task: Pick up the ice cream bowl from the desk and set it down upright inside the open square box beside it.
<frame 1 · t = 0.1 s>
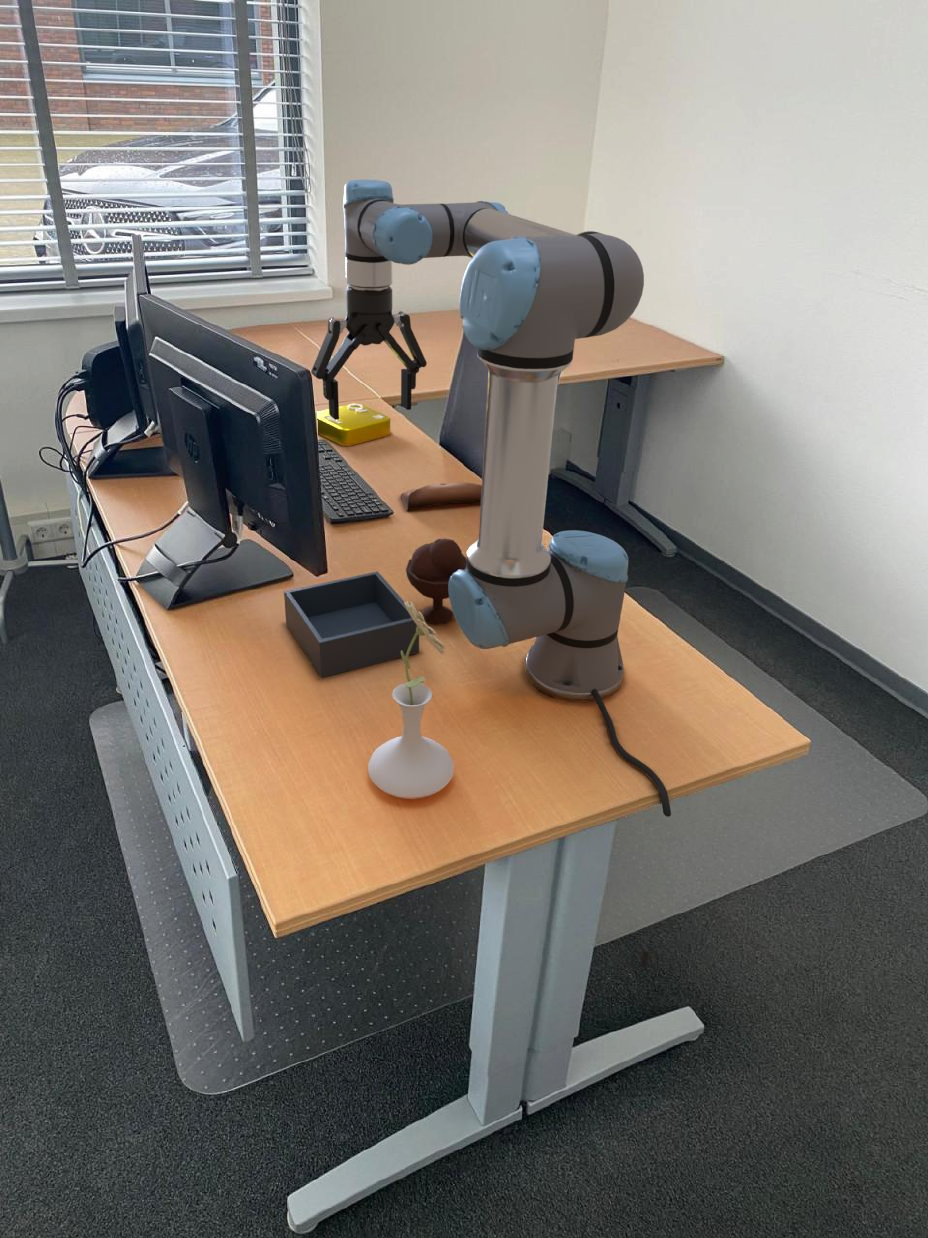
hand: (370, 412, 159), 28 cm above the table, tool pointing down, fingers open, 13 cm apart
flower in vase: (410, 773, 122), on the table
ammunition clip: (497, 539, 181), on the table
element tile: (351, 432, 227), on the table
open square box: (351, 638, 149), on the table
ice cream bowl: (437, 616, 156), on the table
sunglasses case: (443, 501, 195), on the table
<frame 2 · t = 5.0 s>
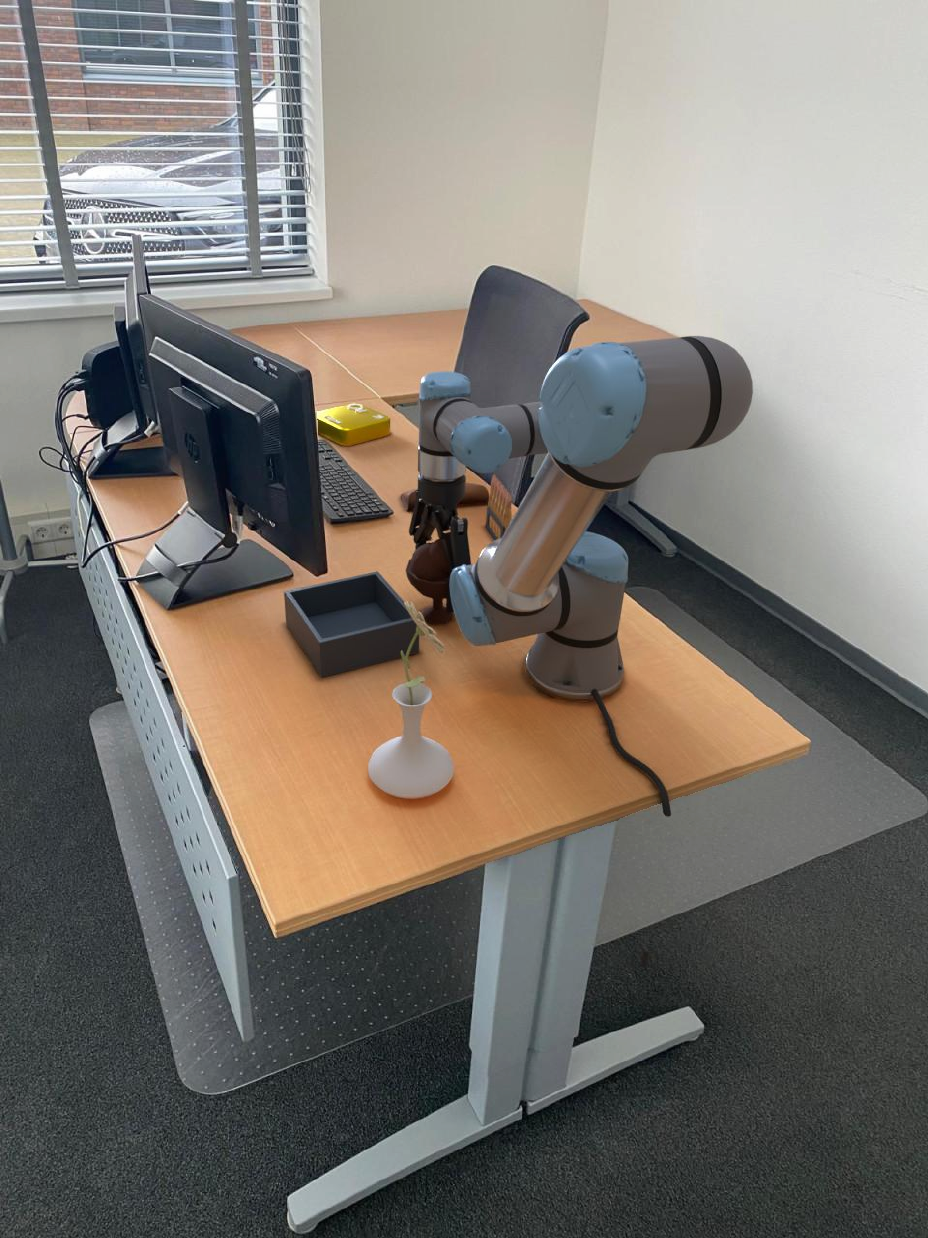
hand: (438, 594, 153), 4 cm above the table, tool pointing down, fingers closed on ice cream bowl, 11 cm apart
ice cream bowl: (437, 616, 156), on the table, touching gripper
everything else where it was.
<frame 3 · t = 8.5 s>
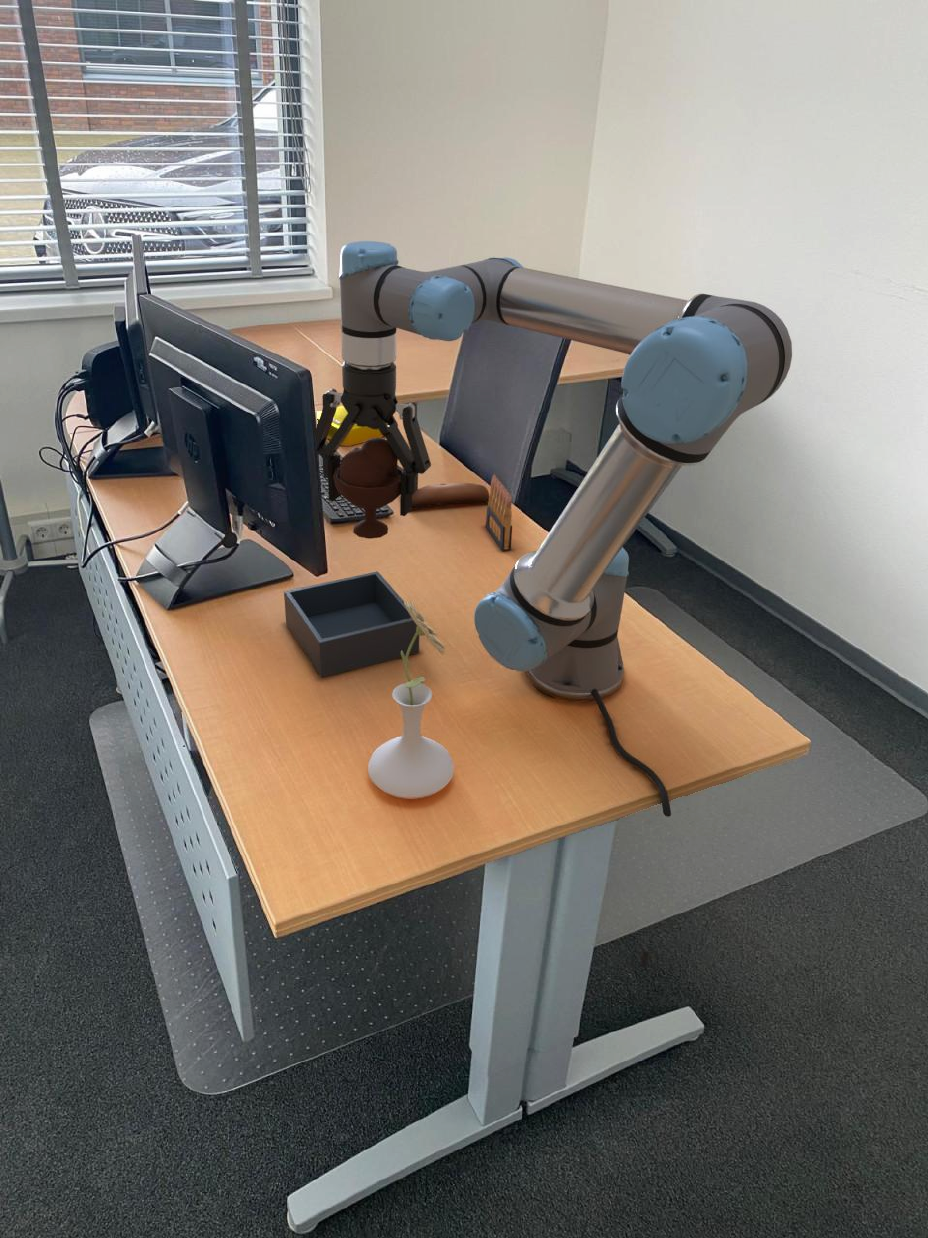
hand: (370, 504, 138), 23 cm above the table, tool pointing down, fingers closed on ice cream bowl, 11 cm apart
ice cream bowl: (370, 531, 141), point 19 cm above the table, touching gripper
everything else where it was.
when the fingers open (5 cm above the table, at t = 12.3 s): ice cream bowl stays where it is, resting on open square box.
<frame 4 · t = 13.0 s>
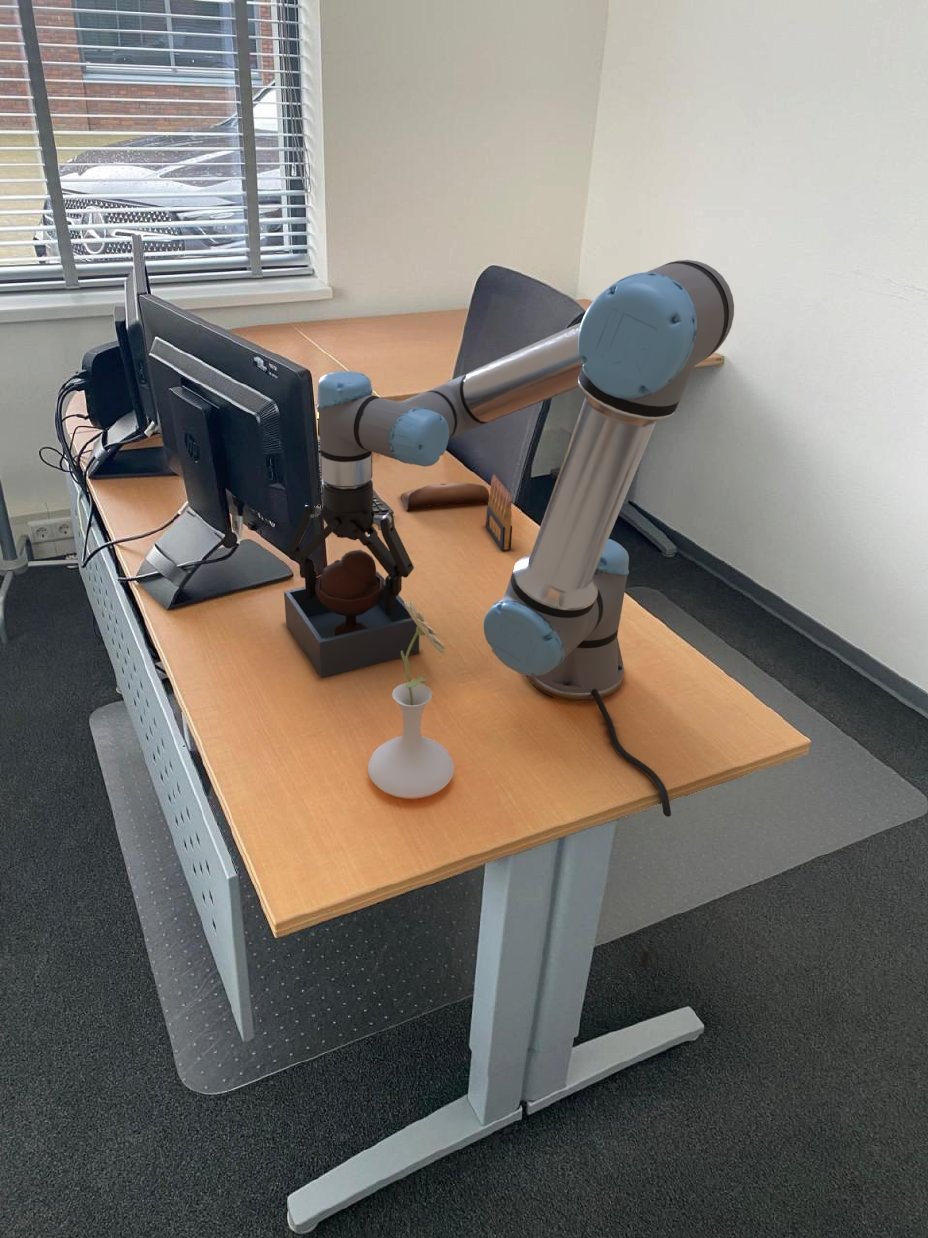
hand: (350, 603, 145), 7 cm above the table, tool pointing down, fingers open, 13 cm apart
ice cream bowl: (351, 634, 148), point 1 cm above the table, touching open square box
everything else where it was.
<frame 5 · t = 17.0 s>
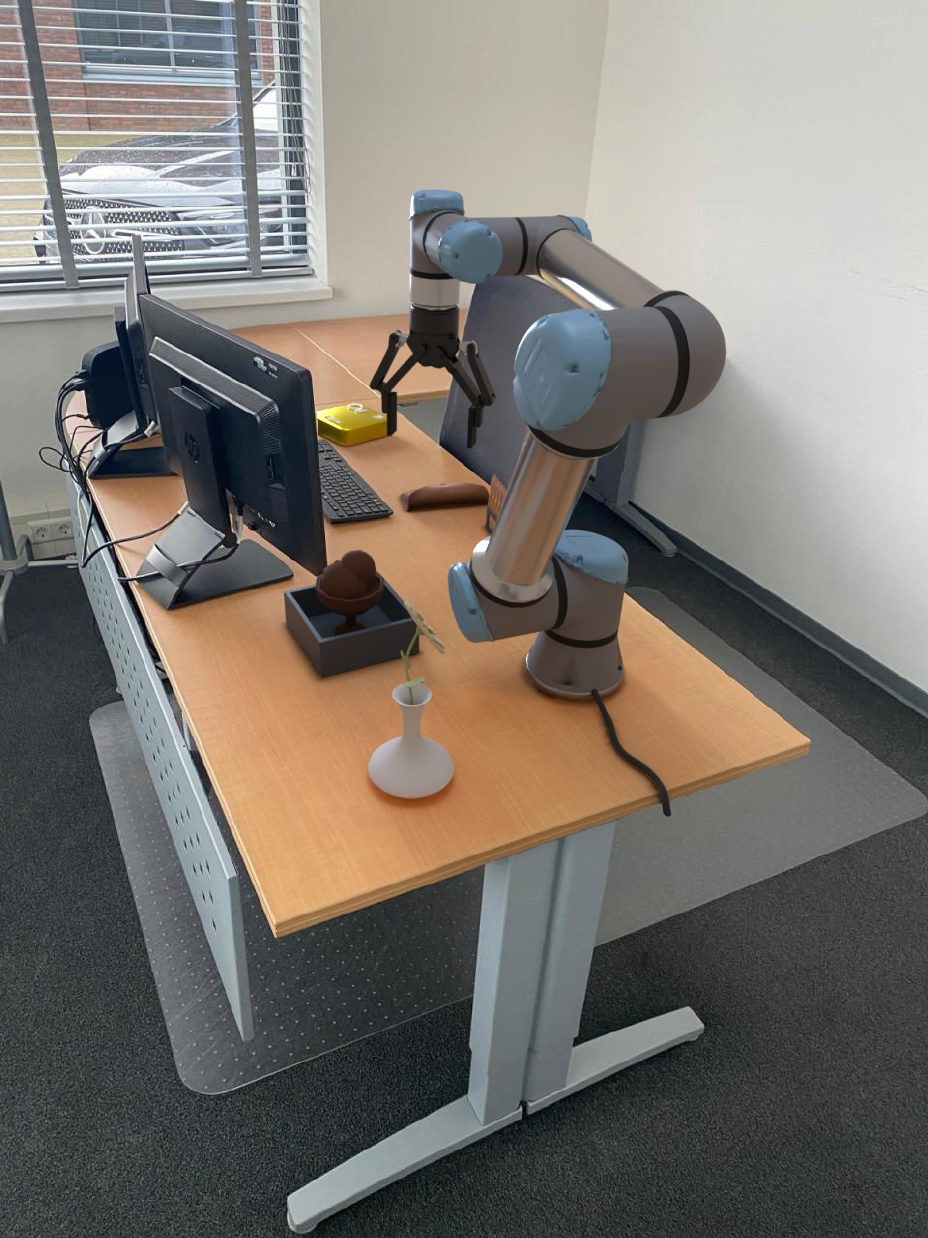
hand: (431, 439, 147), 29 cm above the table, tool pointing down, fingers open, 13 cm apart
nothing on the table moved.
at the end: ice cream bowl 0.0 cm off-centre in the open square box, point 0.8 cm above the open square box's base; ice cream bowl tilted 0°; the gripper is holding nothing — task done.
